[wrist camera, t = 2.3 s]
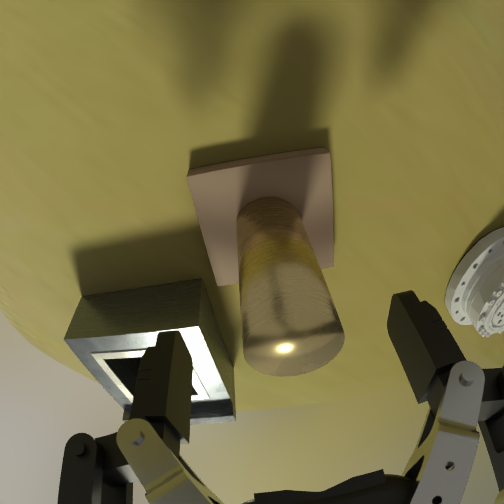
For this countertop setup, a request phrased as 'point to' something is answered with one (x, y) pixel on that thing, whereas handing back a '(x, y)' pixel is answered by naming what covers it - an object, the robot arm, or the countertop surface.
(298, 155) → the brown square panel
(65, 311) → the countertop surface
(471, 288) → the mechanical component
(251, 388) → the countertop surface
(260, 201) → the translucent brown rounded cylinder
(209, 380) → the grey square frame
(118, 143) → the countertop surface
